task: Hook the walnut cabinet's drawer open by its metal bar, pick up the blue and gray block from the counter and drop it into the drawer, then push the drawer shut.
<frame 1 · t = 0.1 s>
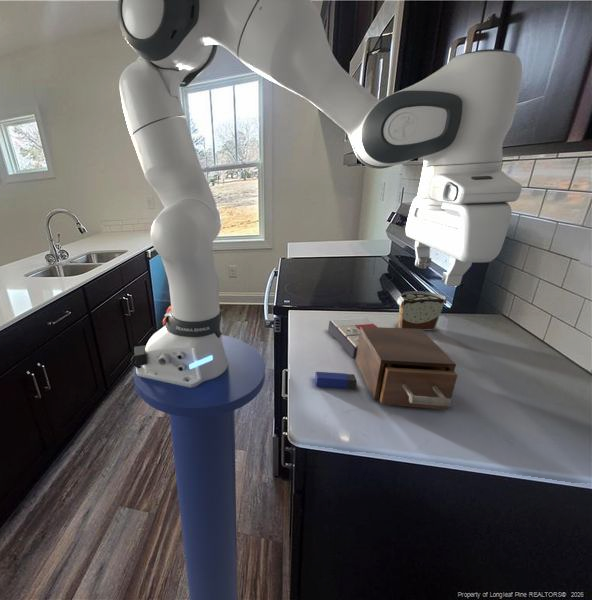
hand: (434, 275, 52), 27 cm above the countertop, tool pointing down, fingers open, 8 cm apart
drawer: (408, 376, 63), point 5 cm above the countertop, slide at 1.0 cm
blue and gray block: (334, 384, 70), on the countertop
cabinet: (394, 381, 70), on the countertop
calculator: (359, 343, 86), on the countertop
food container: (410, 326, 93), on the countertop
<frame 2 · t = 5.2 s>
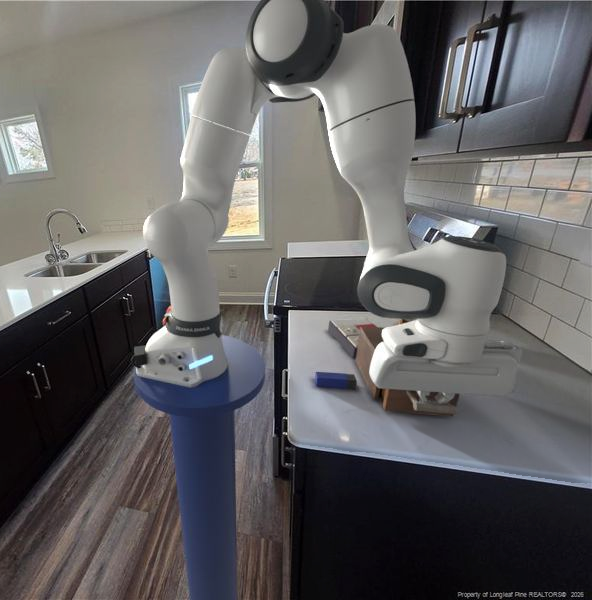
hand: (429, 408, 56), 4 cm above the countertop, tool pointing down, fingers closed
drawer: (412, 382, 62), point 5 cm above the countertop, slide at 2.8 cm, touching gripper
everything else where it was.
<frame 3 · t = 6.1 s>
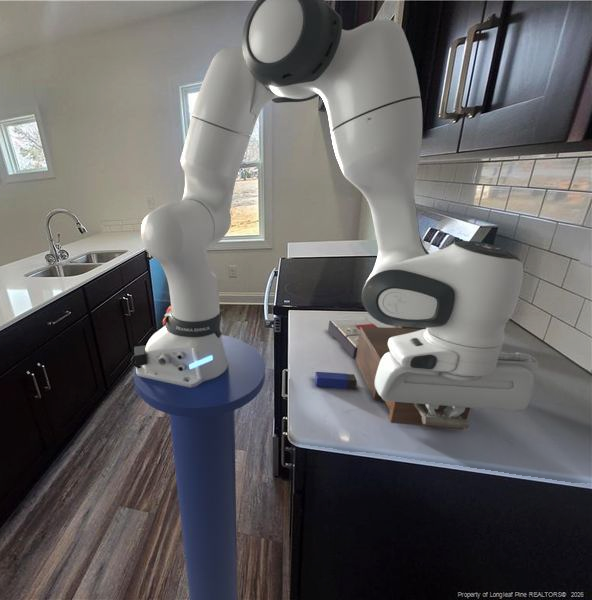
hand: (438, 422, 53), 4 cm above the countertop, tool pointing down, fingers closed
drawer: (419, 393, 59), point 5 cm above the countertop, slide at 6.1 cm, touching gripper
everything else where it was.
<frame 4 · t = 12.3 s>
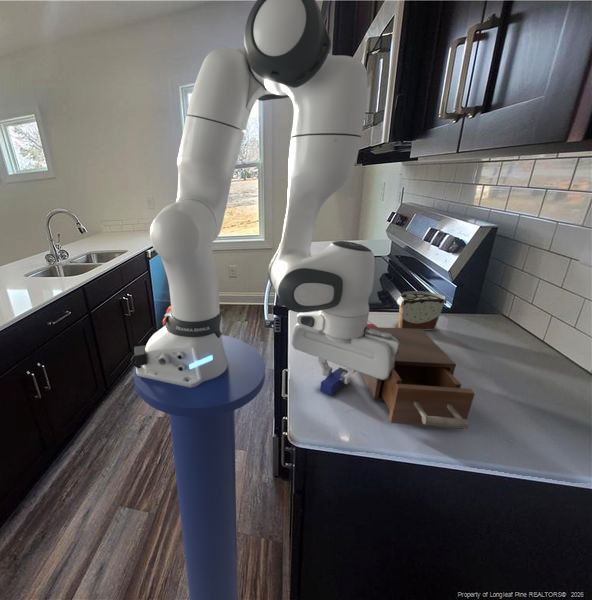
hand: (335, 378, 69), 2 cm above the countertop, tool pointing down, fingers closed on blue and gray block, 2 cm apart
drawer: (419, 393, 59), point 5 cm above the countertop, slide at 6.1 cm
blue and gray block: (334, 385, 70), on the countertop, touching gripper
everything else where it was.
when the fingers open (11 cm above the countertop, at t = 16.6 s): blue and gray block drops 4 cm and tips over, resting on drawer.
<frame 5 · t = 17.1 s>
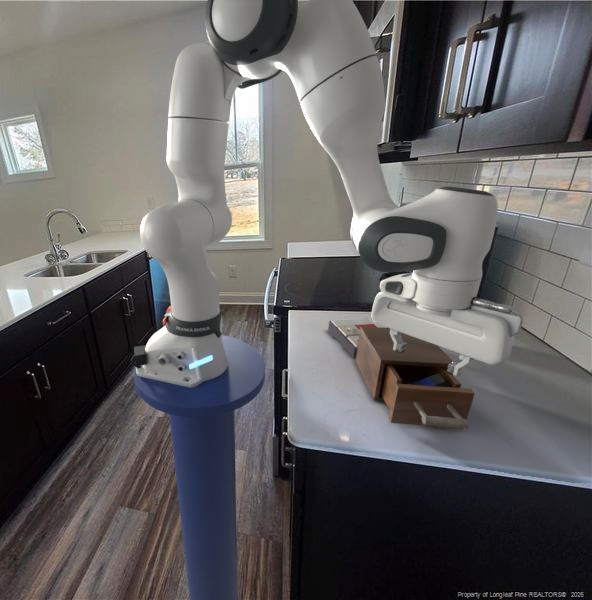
hand: (424, 361, 57), 11 cm above the countertop, tool pointing down, fingers open, 8 cm apart
drawer: (419, 393, 59), point 5 cm above the countertop, slide at 6.1 cm, touching blue and gray block
blue and gray block: (418, 385, 60), point 5 cm above the countertop, tilted 93°, touching drawer
everything else where it was.
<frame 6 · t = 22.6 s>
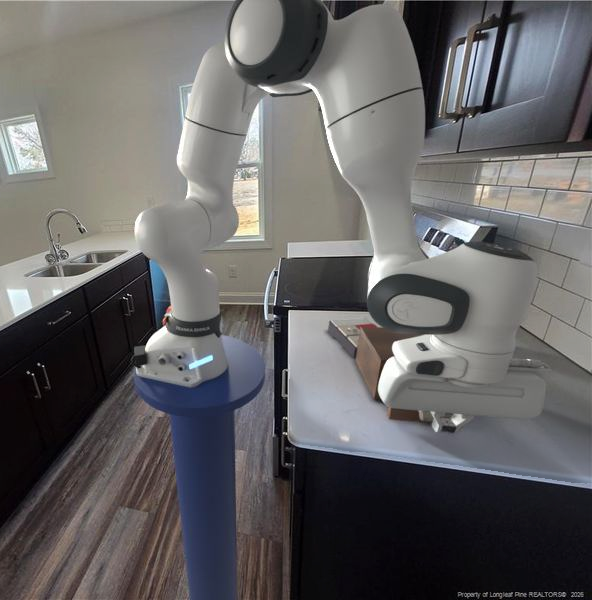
hand: (444, 430, 51), 5 cm above the countertop, tool pointing down, fingers closed, pressing on drawer
drawer: (417, 390, 60), point 5 cm above the countertop, slide at 5.2 cm, touching gripper, blue and gray block
everything else where it was.
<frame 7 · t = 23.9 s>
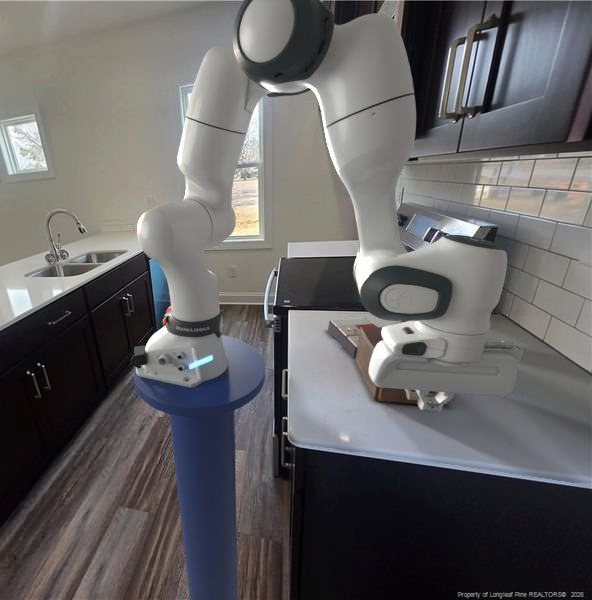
hand: (428, 408, 55), 5 cm above the countertop, tool pointing down, fingers closed, pressing on drawer
drawer: (406, 374, 64), point 5 cm above the countertop, slide at 0.0 cm, touching cabinet, gripper, blue and gray block
blue and gray block: (405, 367, 65), point 5 cm above the countertop, tilted 93°, touching drawer
everything else where it was.
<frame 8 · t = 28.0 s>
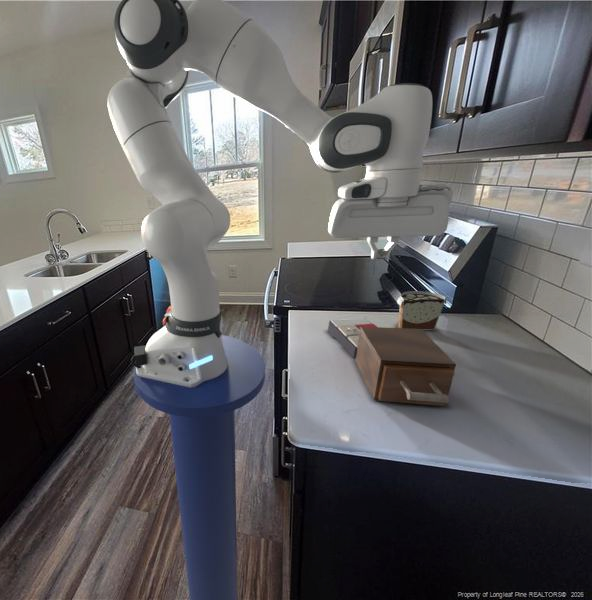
hand: (379, 258, 64), 27 cm above the countertop, tool pointing down, fingers closed
drawer: (406, 374, 64), point 5 cm above the countertop, slide at 0.0 cm, touching cabinet, blue and gray block
everything else where it was.
at the end: drawer pulled out 6.1 cm at the most during the clip, back to where it started at the end; blue and gray block inside the target area in the cabinet (2.8 cm from its centre), point 5.4 cm above the cabinet's base; drawer slide at 0.0 cm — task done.
